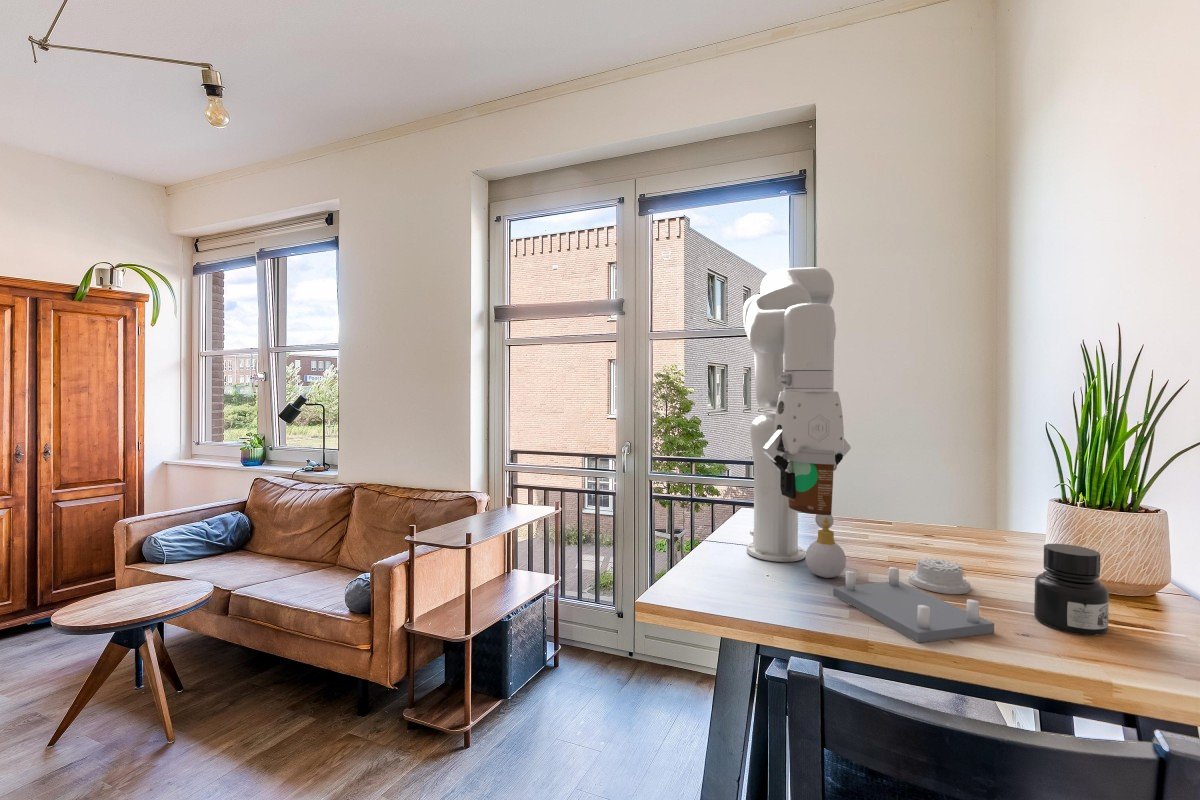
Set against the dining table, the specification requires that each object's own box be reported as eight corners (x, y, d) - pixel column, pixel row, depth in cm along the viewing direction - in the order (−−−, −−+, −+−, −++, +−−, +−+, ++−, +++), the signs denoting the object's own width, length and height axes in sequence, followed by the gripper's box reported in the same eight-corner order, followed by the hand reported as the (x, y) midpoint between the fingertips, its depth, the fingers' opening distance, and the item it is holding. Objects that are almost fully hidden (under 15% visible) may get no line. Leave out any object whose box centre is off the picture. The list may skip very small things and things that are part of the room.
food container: (773, 499, 94) (773, 441, 93) (809, 499, 93) (810, 441, 93) (792, 517, 81) (792, 450, 81) (834, 517, 81) (835, 450, 81)
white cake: (920, 593, 100) (980, 598, 98) (920, 569, 100) (981, 573, 98) (901, 575, 110) (956, 579, 108) (901, 553, 110) (956, 556, 108)
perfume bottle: (816, 583, 105) (816, 520, 105) (794, 566, 115) (794, 509, 114) (853, 582, 106) (854, 520, 105) (828, 565, 115) (829, 509, 115)
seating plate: (833, 595, 99) (833, 570, 98) (898, 588, 102) (898, 564, 102) (918, 643, 80) (918, 612, 80) (994, 632, 83) (994, 603, 83)
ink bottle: (1086, 642, 80) (1088, 561, 80) (1020, 619, 89) (1021, 545, 88) (1121, 630, 84) (1123, 553, 84) (1055, 609, 92) (1056, 539, 92)
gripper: (772, 382, 81) (771, 503, 82) (871, 382, 85) (869, 497, 86) (747, 382, 88) (746, 493, 89) (839, 382, 93) (837, 488, 93)
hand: (806, 494), depth 87 cm, fingers closed on food container, 5 cm apart
